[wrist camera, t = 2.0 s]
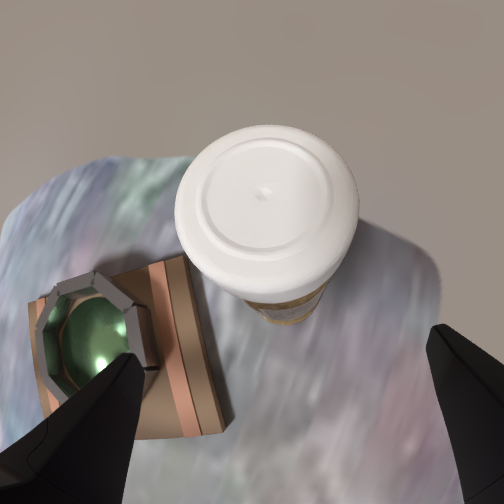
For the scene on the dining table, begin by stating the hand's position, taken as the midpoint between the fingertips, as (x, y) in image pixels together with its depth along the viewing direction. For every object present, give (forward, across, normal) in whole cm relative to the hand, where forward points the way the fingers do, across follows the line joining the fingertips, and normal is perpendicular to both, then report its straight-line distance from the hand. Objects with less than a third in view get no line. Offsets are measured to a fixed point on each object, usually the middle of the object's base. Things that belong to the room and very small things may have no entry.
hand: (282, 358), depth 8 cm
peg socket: (+8, +14, +8) cm, 17 cm away
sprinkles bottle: (+10, 0, +5) cm, 12 cm away
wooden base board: (+7, +13, +8) cm, 17 cm away
